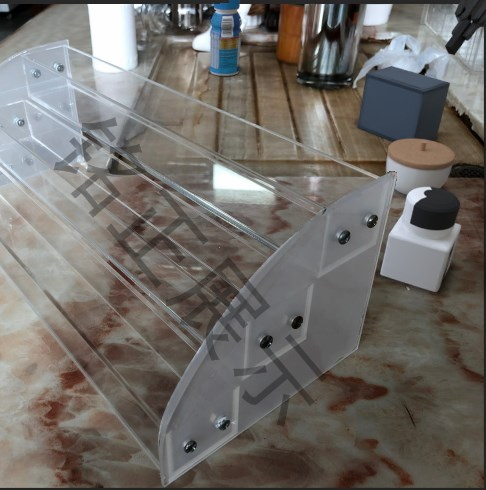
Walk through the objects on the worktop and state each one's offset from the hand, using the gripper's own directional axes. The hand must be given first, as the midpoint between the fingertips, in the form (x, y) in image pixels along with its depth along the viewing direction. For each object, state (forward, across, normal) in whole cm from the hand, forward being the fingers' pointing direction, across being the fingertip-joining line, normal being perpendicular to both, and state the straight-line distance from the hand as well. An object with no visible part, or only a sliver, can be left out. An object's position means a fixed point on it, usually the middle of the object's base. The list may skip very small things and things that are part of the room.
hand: (449, 50), depth 124 cm
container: (+48, -34, +26) cm, 64 cm away
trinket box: (+33, -18, +11) cm, 40 cm away
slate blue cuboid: (+20, 0, -2) cm, 20 cm away
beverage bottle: (+22, +55, 0) cm, 59 cm away
